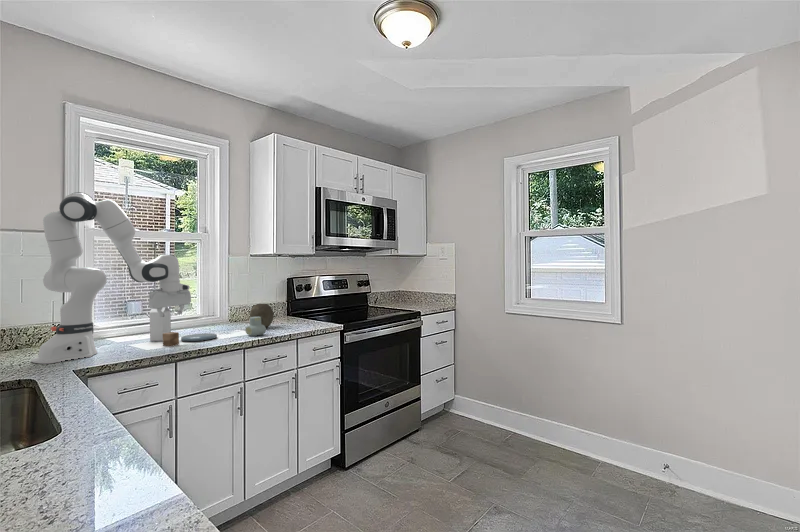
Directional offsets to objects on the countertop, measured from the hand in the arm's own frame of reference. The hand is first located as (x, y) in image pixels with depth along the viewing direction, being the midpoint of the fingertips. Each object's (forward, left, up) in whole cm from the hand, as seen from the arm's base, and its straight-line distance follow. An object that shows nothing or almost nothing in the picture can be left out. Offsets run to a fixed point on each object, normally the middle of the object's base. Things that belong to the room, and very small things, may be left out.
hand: (171, 315), depth 209 cm
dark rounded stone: (+56, -5, -15) cm, 58 cm away
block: (0, 0, -15) cm, 15 cm away
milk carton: (+7, +18, -15) cm, 24 cm away
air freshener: (+36, -20, -15) cm, 43 cm away
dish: (+16, 0, -15) cm, 21 cm away
